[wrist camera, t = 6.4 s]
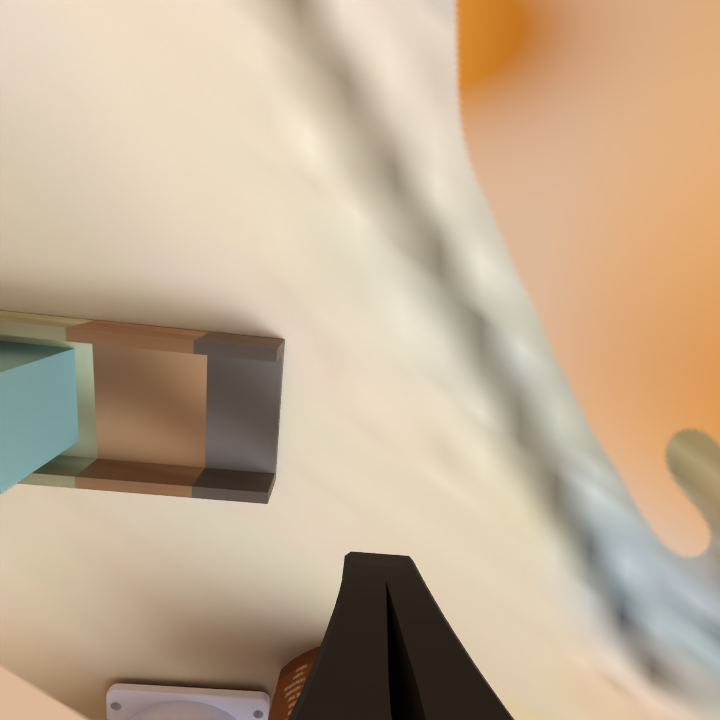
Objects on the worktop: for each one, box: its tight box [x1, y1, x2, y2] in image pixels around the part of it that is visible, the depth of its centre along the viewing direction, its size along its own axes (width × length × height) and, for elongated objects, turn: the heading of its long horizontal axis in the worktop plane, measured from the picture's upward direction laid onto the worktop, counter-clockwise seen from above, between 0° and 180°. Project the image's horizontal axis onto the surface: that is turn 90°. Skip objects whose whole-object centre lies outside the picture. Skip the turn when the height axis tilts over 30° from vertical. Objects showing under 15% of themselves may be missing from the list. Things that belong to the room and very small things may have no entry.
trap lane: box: [0, 311, 285, 504], centre depth 16 cm, size 6×16×2 cm, turn 84°
